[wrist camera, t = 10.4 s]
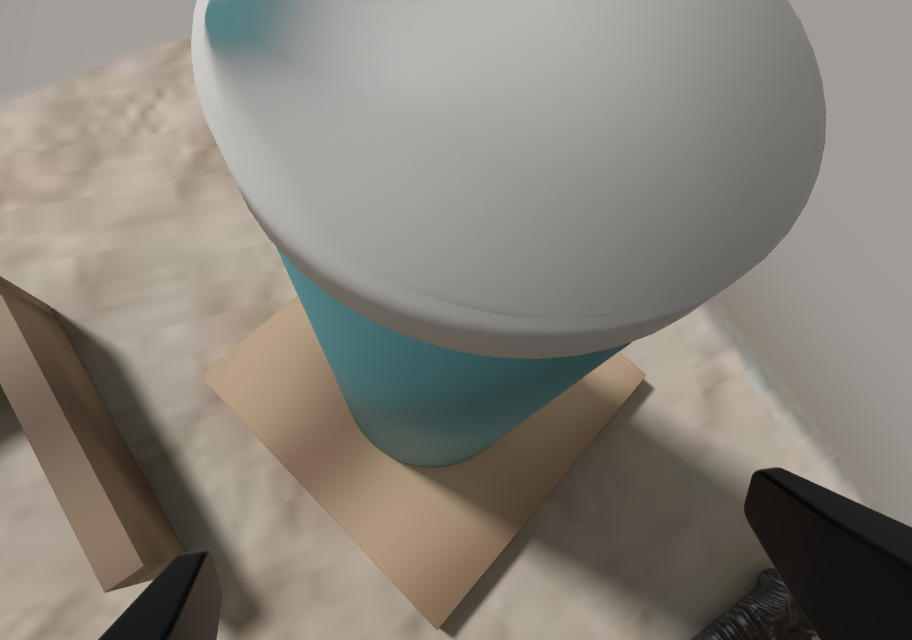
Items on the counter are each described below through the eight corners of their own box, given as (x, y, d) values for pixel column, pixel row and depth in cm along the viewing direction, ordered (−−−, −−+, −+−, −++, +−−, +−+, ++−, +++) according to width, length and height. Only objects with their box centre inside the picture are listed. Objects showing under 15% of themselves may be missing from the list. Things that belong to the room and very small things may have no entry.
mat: (639, 379, 20) (646, 375, 19) (435, 626, 16) (437, 630, 16) (429, 194, 21) (431, 185, 21) (205, 380, 18) (200, 375, 17)
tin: (545, 438, 18) (947, 234, 5) (367, 495, 17) (261, 429, 4) (487, 278, 20) (665, -180, 7) (324, 319, 19) (149, -146, 5)
